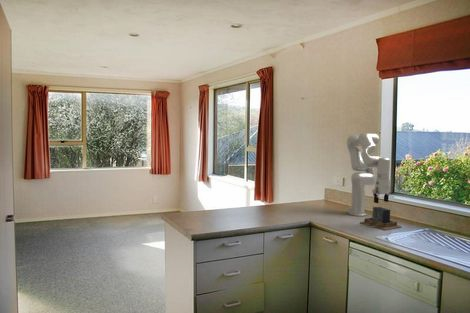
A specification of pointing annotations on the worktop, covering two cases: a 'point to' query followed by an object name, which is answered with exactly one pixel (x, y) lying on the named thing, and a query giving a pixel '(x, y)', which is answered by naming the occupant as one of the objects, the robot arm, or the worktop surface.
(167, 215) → the worktop surface
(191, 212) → the worktop surface
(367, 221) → the brown shallow box
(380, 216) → the small box
